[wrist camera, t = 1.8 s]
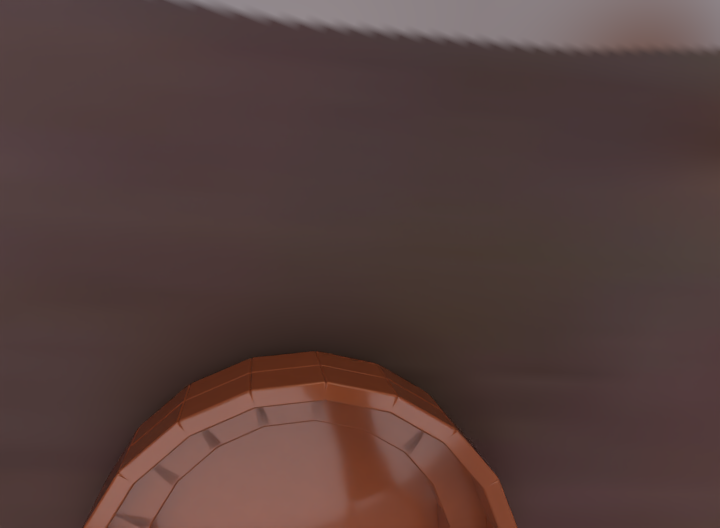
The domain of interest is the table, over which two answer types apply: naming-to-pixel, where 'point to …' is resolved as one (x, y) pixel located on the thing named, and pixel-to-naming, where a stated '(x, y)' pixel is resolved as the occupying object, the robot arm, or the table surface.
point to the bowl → (301, 455)
